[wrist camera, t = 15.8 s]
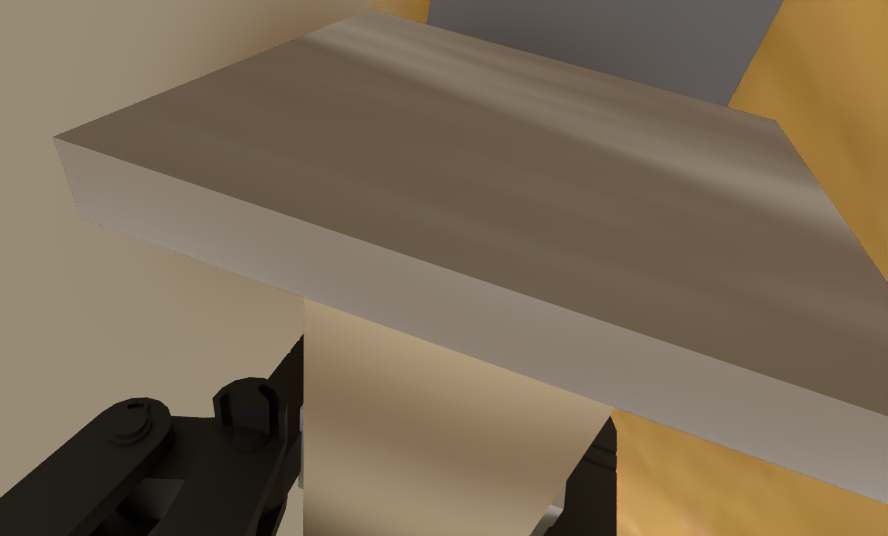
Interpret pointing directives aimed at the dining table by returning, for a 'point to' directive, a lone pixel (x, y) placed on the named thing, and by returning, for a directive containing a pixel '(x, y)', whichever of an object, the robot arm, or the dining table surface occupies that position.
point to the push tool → (506, 267)
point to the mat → (626, 37)
